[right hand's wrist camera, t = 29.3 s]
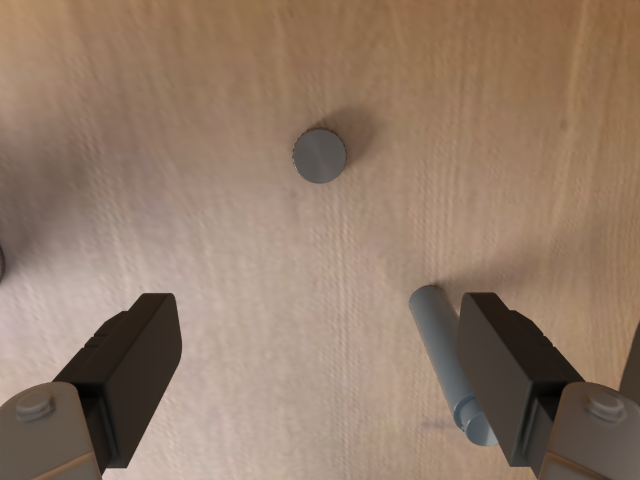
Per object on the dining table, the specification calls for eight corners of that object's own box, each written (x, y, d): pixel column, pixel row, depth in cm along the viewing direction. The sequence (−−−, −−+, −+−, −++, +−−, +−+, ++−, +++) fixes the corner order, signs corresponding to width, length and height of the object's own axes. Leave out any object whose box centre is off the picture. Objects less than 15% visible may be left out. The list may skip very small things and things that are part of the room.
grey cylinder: (421, 325, 43) (477, 459, 28) (401, 298, 42) (448, 424, 27) (454, 306, 43) (530, 433, 27) (435, 278, 41) (503, 395, 26)
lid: (334, 118, 36) (335, 120, 34) (353, 168, 37) (354, 172, 36) (284, 139, 36) (283, 141, 35) (305, 187, 38) (304, 192, 36)
